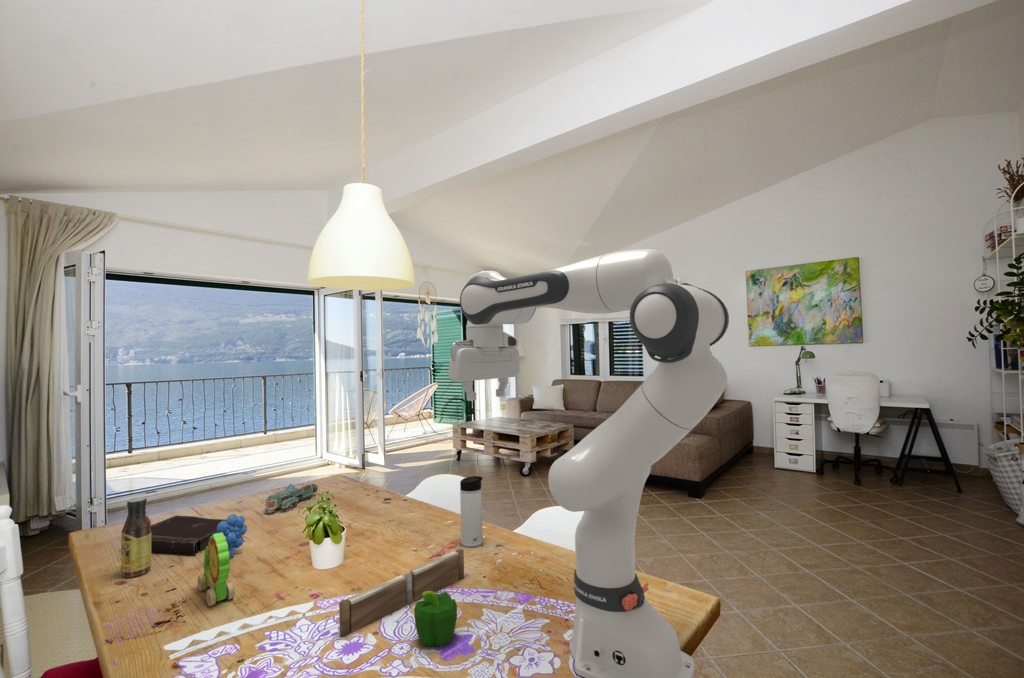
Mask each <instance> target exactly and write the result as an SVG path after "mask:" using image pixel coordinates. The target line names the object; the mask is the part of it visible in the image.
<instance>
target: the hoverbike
mask: <svg viewBox="0 0 1024 678" xmlns="http://www.w3.org/2000/svg"><path fill="white" fill-rule="evenodd" d="M309 481H310V482H309ZM307 482H309V483H307V485H304V486H301V487H300V488H297V487H296V486H295V485H294V484H293V483H290V484H289V485H287V487H286V488H285V489H284V490H282V491H279V492H277V493H273V494H270V495H269V496H267V497H266V499H265V509H264V513H267V514H266V515H271V514H272V515H274V513H275V512H276V513H279V512H280V511H281V509H284V511H286V512H287V511H288V510H289V509H290V506H293V507H294V508H295V507H297V506H298V502H301V501H304V500H310V499H311V498H313V494H314V493H316V492H317V491H318V490H319V485H318V484H316V483H312V481H311V480H310V479H308V480H307ZM279 506H280V509H279V510H278V508H279Z"/></svg>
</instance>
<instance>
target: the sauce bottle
mask: <svg viewBox="0 0 1024 678" xmlns="http://www.w3.org/2000/svg"><path fill="white" fill-rule="evenodd" d="M147 501H148V500H147V497H145V496H140V497H139V496H137V497H133V498H131V499H128V500H127V501H126V506H127V517H126V520H125V522H124V525H123V527H122V530H121V546H120V547H121V551H120V552H121V553H120V554H121V556H120V557H121V574H122V575H121V576H122V577H124V578H127V579H130V578H136V577H140V576H143V575H145V574H147V573H148V572H150V570H151V565H152V553H151V525H152V522H151V520H150V518H149V517H148V515H146V514H147V511H146V507H147V506H146V504H147Z"/></svg>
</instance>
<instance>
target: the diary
mask: <svg viewBox="0 0 1024 678" xmlns="http://www.w3.org/2000/svg"><path fill="white" fill-rule="evenodd" d="M224 520H225V521H226V520H227V519H224V518H223V519H221V518H220V519H219V518H206V517H198V516H192V515H190V516H189V515H174V516H171V517H169V518H166V519H164V520H162V521H159V522H156V523H154V524H151V554H161V555H175V556H176V555H177V556H187V557H188V556H189V557H195V556H197V555H196V554H199V553H198V552H202V550H203V551H205V549H206V547H207V546H208V544H209V540H210V537H211V536H212V535H213V534H214V533H217V525H218V524H219V523H220V522H221V521H224Z"/></svg>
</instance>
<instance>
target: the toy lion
mask: <svg viewBox="0 0 1024 678" xmlns="http://www.w3.org/2000/svg"><path fill="white" fill-rule="evenodd" d="M203 557H204V558H203V573H202V574H199V575H197V576H198V577H197V586H198V591H199V592H202V591H204V590H206V589H207V587H209V589H207V590H206V593H205V594H206V597H205V598H206V603H207V605H208V607H212V606H215V605H216V604H217V602H219V601H222V600H223V601H224V600H225V599H227V600H228V601H229V600H231V599H233V598H235V587H234V583H233V582H232V581H230V582H227V580H228V579H229V573H230V572H231V571H230V570H231V569H230V567H231V566H230V560H231V558H230V556H229V551H228V544H227V542H226V538H225V536H224V534H223V533H222V532H221V533H217V534H213V535H212V536H211V537H210V540H209V544H208V546H207V547H206V549H204V555H203Z"/></svg>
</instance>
